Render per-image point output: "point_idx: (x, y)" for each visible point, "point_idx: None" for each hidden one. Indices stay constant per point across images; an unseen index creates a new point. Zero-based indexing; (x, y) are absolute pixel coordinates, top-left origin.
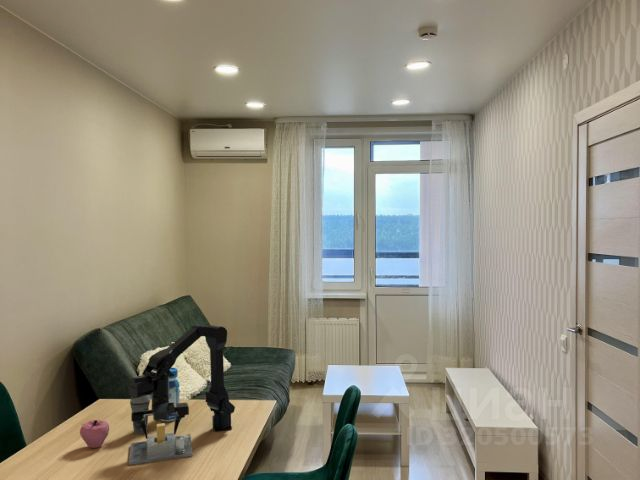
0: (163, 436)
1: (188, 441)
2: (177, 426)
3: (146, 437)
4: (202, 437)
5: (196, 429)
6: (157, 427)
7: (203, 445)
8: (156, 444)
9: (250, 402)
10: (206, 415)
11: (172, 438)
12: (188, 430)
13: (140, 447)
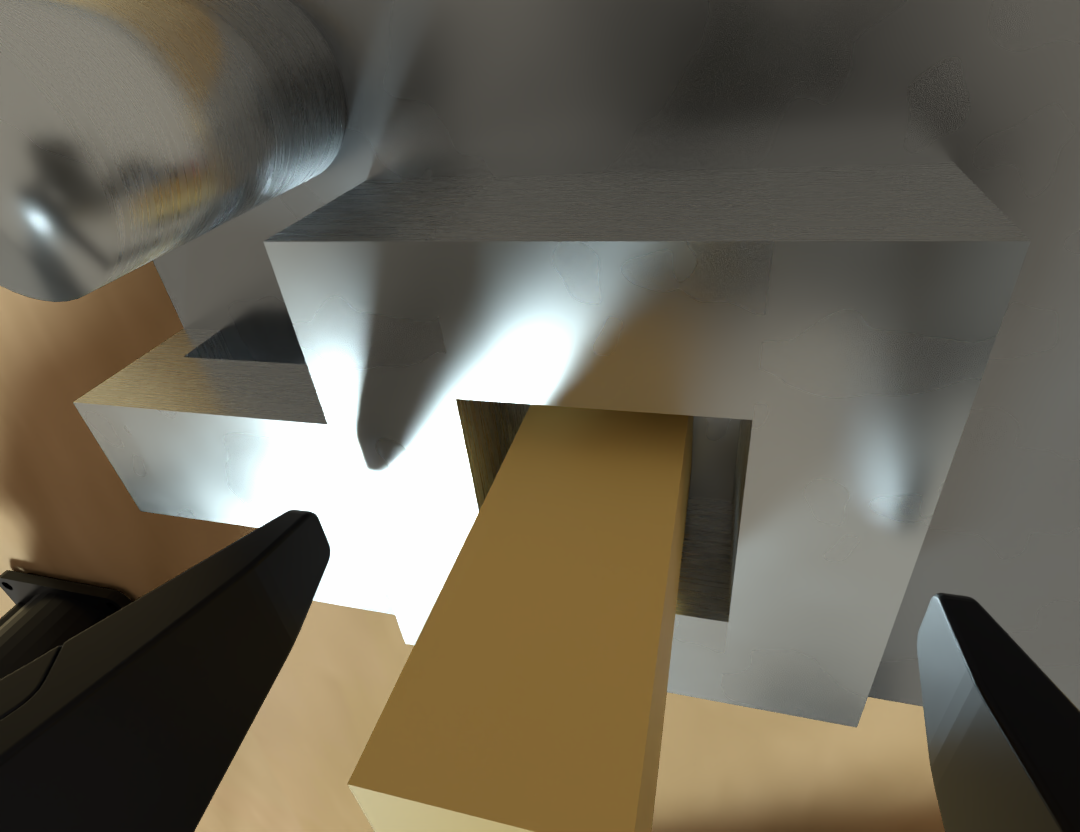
0: (514, 513)
1: (164, 363)
2: (87, 637)
3: (973, 618)
4: (196, 536)
5: (311, 692)
6: (616, 811)
7: (95, 340)
8: (710, 280)
9: None
10: (306, 819)
11: (375, 466)
12: (376, 707)
13: (972, 561)
